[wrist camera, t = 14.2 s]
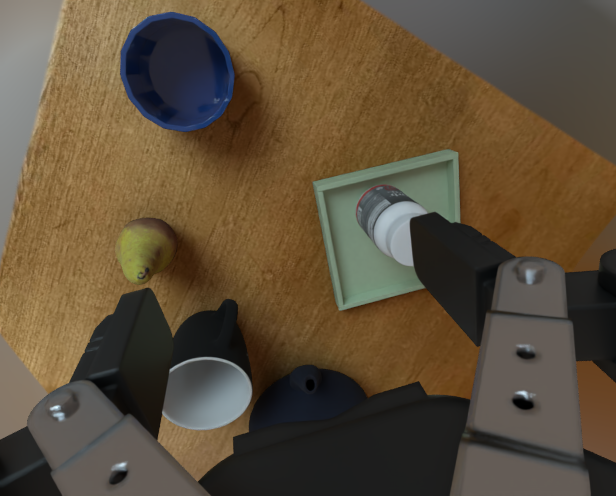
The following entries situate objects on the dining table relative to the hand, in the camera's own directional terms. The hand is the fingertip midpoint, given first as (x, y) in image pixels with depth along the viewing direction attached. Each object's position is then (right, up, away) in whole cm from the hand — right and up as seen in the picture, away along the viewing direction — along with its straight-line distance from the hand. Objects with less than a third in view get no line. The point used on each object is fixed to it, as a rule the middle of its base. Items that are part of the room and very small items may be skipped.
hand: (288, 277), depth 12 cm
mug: (-10, -8, +35) cm, 37 cm away
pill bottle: (+8, +5, +32) cm, 34 cm away
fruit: (-15, +2, +30) cm, 33 cm away
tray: (+10, +3, +34) cm, 35 cm away
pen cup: (-10, +17, +24) cm, 31 cm away
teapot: (0, -19, +42) cm, 46 cm away
